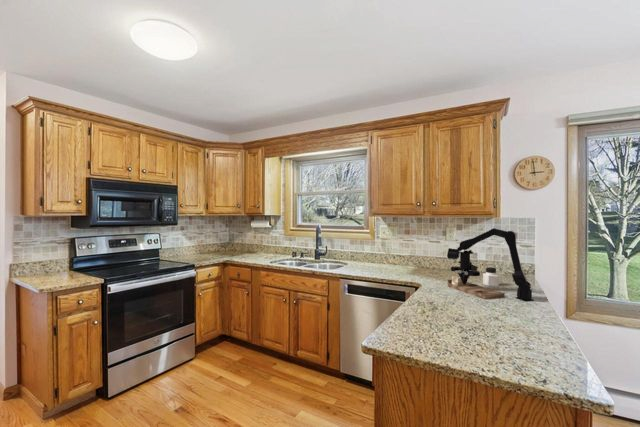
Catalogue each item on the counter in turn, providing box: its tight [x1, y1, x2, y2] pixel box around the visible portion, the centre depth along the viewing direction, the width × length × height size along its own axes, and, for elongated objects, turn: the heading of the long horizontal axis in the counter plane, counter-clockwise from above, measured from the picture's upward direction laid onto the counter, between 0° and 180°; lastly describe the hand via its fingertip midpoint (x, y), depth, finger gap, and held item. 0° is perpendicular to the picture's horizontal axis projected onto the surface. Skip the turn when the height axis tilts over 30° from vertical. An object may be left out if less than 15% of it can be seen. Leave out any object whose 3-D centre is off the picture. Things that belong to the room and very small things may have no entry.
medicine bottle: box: [482, 266, 500, 287], centre depth 206 cm, size 7×7×12 cm
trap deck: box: [447, 279, 506, 300], centre depth 188 cm, size 30×15×4 cm, turn 18°
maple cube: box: [451, 275, 464, 286], centre depth 195 cm, size 5×5×5 cm
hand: (464, 284), depth 191 cm, fingers closed
